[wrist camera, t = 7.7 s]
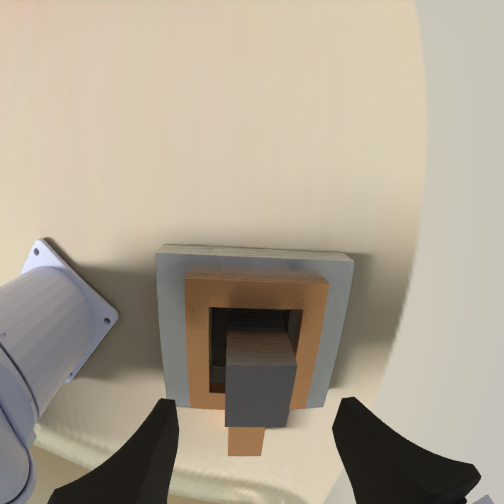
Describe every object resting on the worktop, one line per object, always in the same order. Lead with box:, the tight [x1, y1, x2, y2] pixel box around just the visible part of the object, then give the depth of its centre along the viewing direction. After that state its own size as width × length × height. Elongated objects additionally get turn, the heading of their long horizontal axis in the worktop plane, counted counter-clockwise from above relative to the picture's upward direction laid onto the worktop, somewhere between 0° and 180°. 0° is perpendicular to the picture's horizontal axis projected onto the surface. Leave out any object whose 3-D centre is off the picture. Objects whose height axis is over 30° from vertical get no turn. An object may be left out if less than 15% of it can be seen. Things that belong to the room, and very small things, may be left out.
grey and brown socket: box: [156, 244, 355, 456], centre depth 18 cm, size 16×11×3 cm
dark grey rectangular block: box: [225, 308, 298, 427], centre depth 15 cm, size 4×3×7 cm
